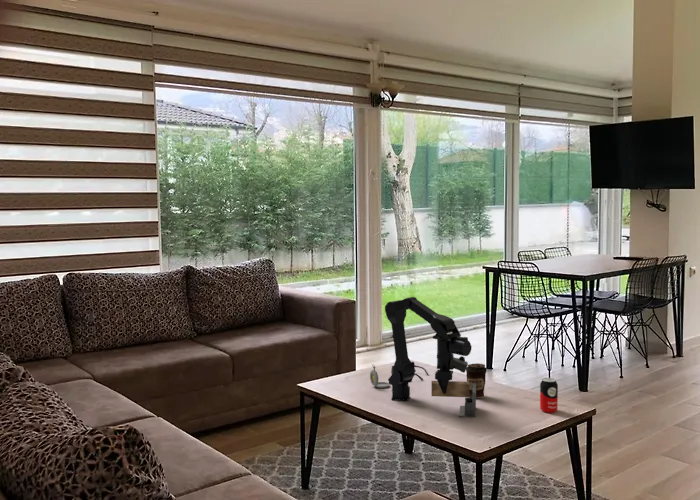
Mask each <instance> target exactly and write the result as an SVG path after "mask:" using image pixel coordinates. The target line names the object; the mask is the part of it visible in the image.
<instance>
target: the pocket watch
mask: <svg viewBox="0 0 700 500" xmlns="http://www.w3.org/2000/svg"><path fill="white" fill-rule="evenodd" d="M372 368H373V369H372V370H370V372H369V379H370V383H371V385H372V386H374V387H375V388H377V389H384V388H385V389H386V388H388V387H390V384H389V382H385V381H380V382H379V374H378V371H377V370H376V365H374V364H372Z"/></svg>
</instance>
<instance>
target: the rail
mask: <svg viewBox="0 0 700 500" xmlns="http://www.w3.org/2000/svg"><path fill="white" fill-rule="evenodd" d="M431 397H439V398H440V397H442V398H443V397H445V398H446V397H447V398H470V397H469V382H467V381H460V380H459V381H457V380H456V381H455V380H449V381H448V386H447V391H446V394H443V392H442V390H441V388H440V385H439V383H438V381H437V380H431Z"/></svg>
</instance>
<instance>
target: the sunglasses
mask: <svg viewBox="0 0 700 500" xmlns="http://www.w3.org/2000/svg"><path fill="white" fill-rule="evenodd" d="M393 366H394V365H391V372H390V373H391V375H392V374H393ZM414 366H415V368H419V369H422V370H424V372H425V375H426V376H430V374H429V372H428V371H427V370H426V369H425V368H424V366H423V367H422V366H419V365H415V364H414ZM414 376H416V377H417V378H418V379H420V380H421V381H424V378H423V377H422V376H420V375H419V374H417V373H415V375H414Z"/></svg>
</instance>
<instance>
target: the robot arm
mask: <svg viewBox="0 0 700 500" xmlns="http://www.w3.org/2000/svg"><path fill="white" fill-rule="evenodd" d="M385 304H386V305H384V310H385V315H386V319H387V320H388V321H389V323H390V324H391V330H392V337H393V338H392V339H393V346H394V355H395V361H394V364H393V365H392V366H393V374H392V373H391V375H390V376H389V378H388V379H387V380H388V383H389V386H390V385H391V386H392V387H391V390H392V391H391V392H392V394H391V395H392V397H391V400H392V401H405V402H406V401H408V400H409V399H410V397H411V387H410V385H409V384H410V383H412V382H413V378H414V377H415V376H416V375H415V374H416V367H415V366H414V365H415V362H414V361H411V360H410V358H409V353H408V346H407V338H406V331H405V330H406V329H405V320H406V316H407V310H410V311H412V312H413V313H414V314H416V315H417V316H418V317H420V318H422V319H423V320H424V321H425V322H427V323H428V324H429V325H430V327H431V329H432V330H433V331H434V332H435V334H434V335H433V336H432V339H435V340H436V343H437V344H436V345H437V347H436V350H437V351H436V369H437V370H436V371H435V373H434V380H435V381H438V383H439V385H440V388H441V390H442V392H443V394H446V391H447V386H448V381H453V374H454V370H457V371H460V372H461V373H466V368H467V367H468V365H469V362H468V361H467V360H466V358H465V357H468V356H469V355H470V354H471V351H472V344H471V342H470V340H469V339H468V338H469V337H466V336H462V335H461V333H460V331H459V329H458V328H457V326H456V324H455V323H456V322H455V320H454V319H453V318H452V317H449V316H448V315H443V314H440V313H437V312H435V310H432V308H430V307H428V306H427V305H426V304H424V303H423V302H421V301H420V300H419V299H417V297H415V296H410V297H406V298H403V299H399V300H398V299H396V300H394V301H393V300H392V301H388V302H387V303H385ZM454 354H455V355H457V356H458V355H459V356H460V357H454V356H455V355H454Z"/></svg>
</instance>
